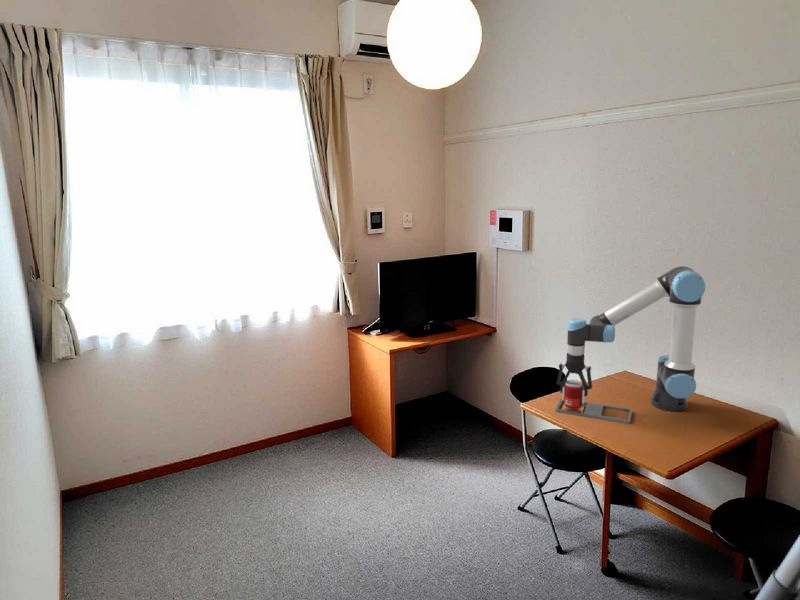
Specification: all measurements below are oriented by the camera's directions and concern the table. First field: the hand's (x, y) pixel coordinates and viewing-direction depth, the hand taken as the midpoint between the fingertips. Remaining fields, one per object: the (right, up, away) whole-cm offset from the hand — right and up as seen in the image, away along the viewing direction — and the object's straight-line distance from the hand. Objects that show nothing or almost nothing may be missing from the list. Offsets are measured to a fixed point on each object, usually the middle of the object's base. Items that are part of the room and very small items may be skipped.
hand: (573, 400), depth 248 cm
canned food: (0, -2, +1) cm, 2 cm away
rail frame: (+8, -4, -3) cm, 10 cm away
